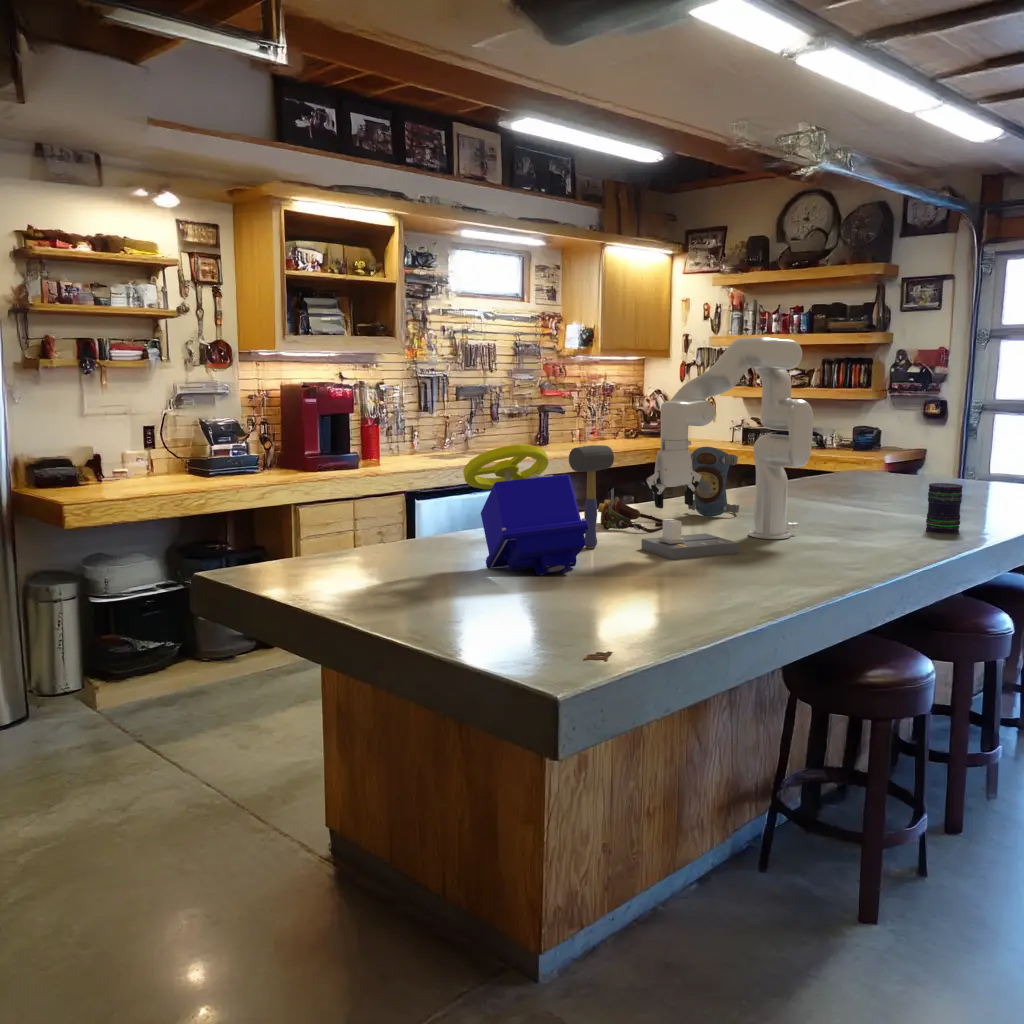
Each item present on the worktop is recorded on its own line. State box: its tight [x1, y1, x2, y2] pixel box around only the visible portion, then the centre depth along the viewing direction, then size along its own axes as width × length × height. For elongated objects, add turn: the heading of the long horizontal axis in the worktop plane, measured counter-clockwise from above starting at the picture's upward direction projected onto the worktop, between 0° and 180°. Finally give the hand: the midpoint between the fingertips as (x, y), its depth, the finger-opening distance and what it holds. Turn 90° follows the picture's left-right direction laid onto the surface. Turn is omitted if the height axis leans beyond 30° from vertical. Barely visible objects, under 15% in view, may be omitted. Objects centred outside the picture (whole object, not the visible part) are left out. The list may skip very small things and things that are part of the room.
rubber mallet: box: [568, 444, 615, 550], centre depth 258 cm, size 12×8×30 cm, turn 127°
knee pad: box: [687, 446, 740, 518], centre depth 318 cm, size 18×20×25 cm
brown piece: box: [582, 651, 614, 662], centre depth 171 cm, size 24×5×1 cm, turn 162°
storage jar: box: [925, 482, 964, 535], centre depth 285 cm, size 10×10×15 cm
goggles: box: [597, 496, 663, 534], centre depth 295 cm, size 24×24×10 cm
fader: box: [657, 518, 685, 544], centre depth 253 cm, size 5×6×6 cm
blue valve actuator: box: [462, 444, 589, 577], centre depth 228 cm, size 26×27×30 cm
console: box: [641, 532, 739, 560], centre depth 256 cm, size 22×16×3 cm
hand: (674, 506), depth 252 cm, fingers open, 9 cm apart
